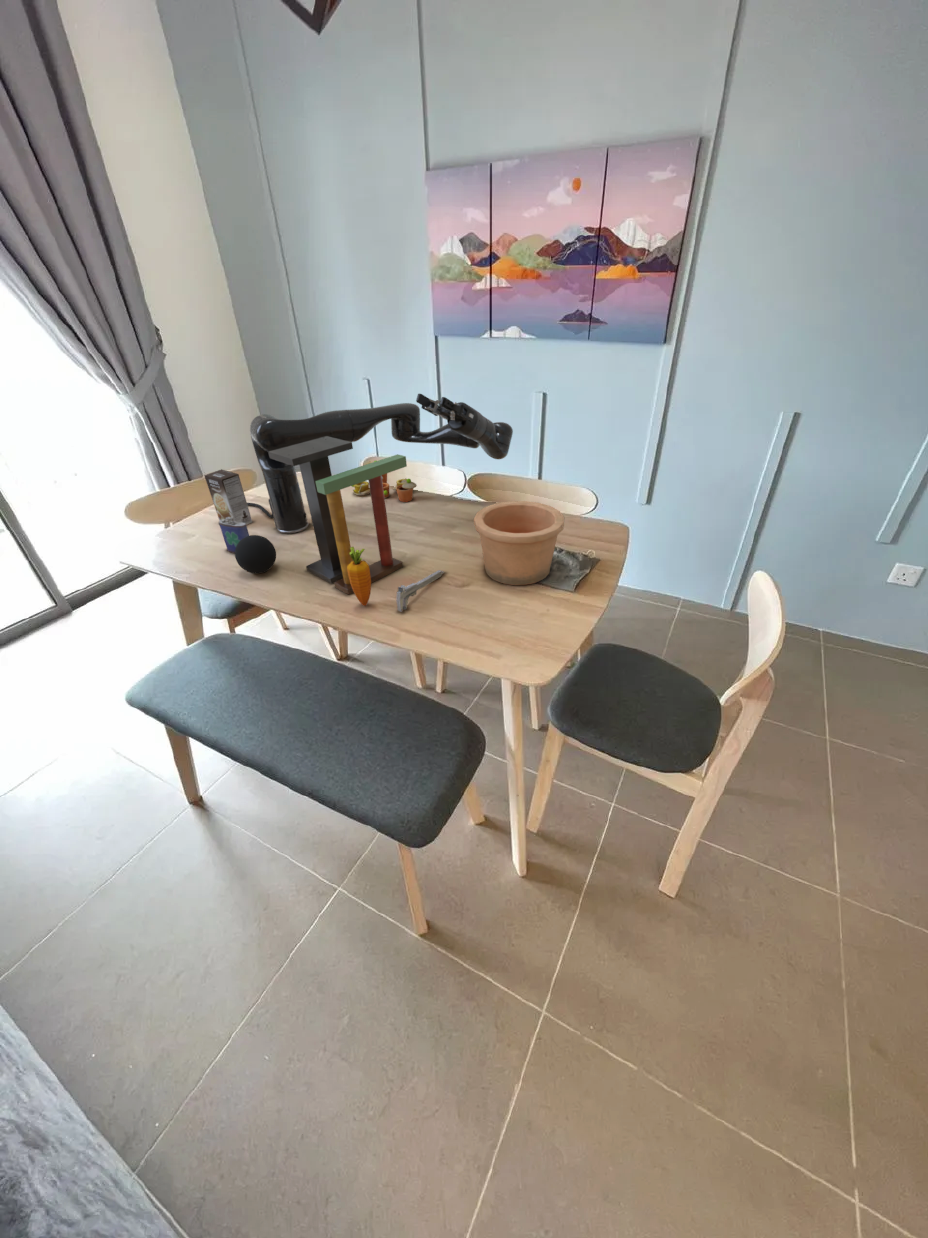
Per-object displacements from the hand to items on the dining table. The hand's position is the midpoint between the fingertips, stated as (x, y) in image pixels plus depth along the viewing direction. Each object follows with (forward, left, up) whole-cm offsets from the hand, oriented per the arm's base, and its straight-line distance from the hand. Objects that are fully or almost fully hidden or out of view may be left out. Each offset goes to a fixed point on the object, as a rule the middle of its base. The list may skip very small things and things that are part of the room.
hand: (429, 399), depth 124 cm
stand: (-13, -29, -38) cm, 50 cm away
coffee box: (-65, -22, -38) cm, 78 cm away
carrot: (+5, -39, -38) cm, 55 cm away
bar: (-2, -25, -13) cm, 28 cm away
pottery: (+29, -7, -38) cm, 48 cm away
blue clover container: (-46, -35, -38) cm, 69 cm away
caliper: (+14, -28, -38) cm, 49 cm away
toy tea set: (-37, +22, -38) cm, 57 cm away
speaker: (-31, -40, -38) cm, 63 cm away
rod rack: (-3, -28, -38) cm, 47 cm away
